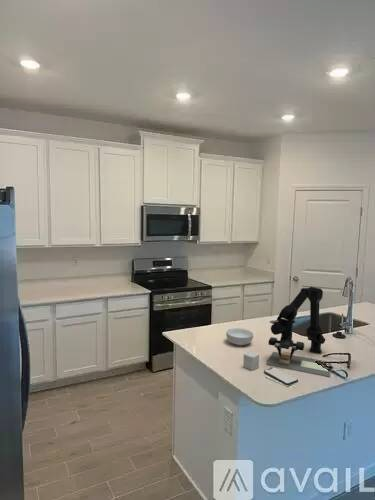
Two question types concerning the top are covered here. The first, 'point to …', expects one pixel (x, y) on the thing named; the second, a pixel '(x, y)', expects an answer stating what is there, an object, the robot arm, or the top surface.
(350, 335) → the top surface
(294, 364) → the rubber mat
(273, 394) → the top surface
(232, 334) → the cereal bowl
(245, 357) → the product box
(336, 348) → the top surface
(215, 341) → the top surface
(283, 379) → the smartphone
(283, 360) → the two-tone wooden plank
